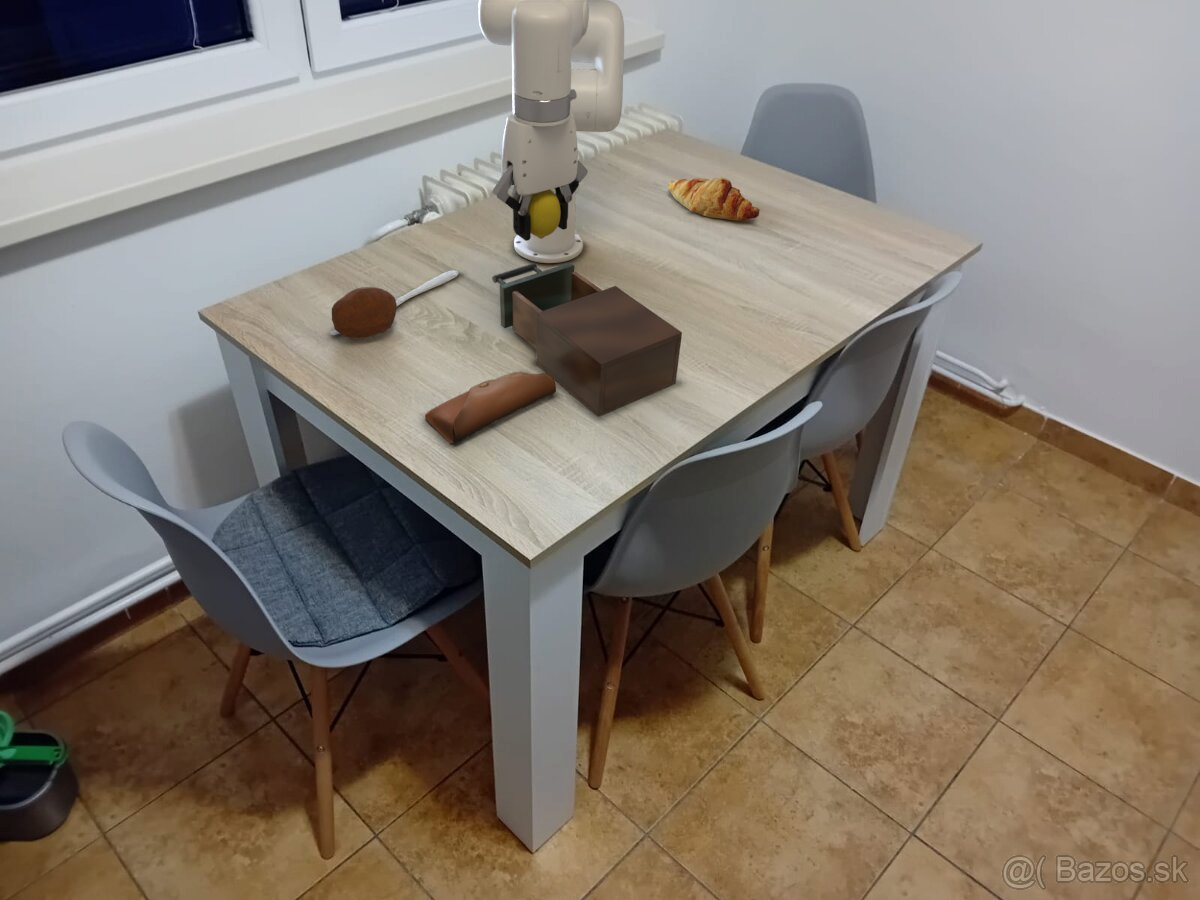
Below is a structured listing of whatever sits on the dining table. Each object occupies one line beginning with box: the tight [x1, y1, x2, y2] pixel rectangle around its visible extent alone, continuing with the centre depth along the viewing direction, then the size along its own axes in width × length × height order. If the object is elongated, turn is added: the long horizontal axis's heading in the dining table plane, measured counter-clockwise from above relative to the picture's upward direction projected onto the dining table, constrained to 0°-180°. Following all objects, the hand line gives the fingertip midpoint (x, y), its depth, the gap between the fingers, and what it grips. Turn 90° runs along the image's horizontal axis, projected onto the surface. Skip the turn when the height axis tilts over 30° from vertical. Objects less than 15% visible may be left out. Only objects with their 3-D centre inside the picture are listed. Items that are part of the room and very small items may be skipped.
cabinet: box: [536, 285, 683, 418], centre depth 134 cm, size 16×15×9 cm
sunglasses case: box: [424, 371, 557, 445], centre depth 128 cm, size 18×7×7 cm
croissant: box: [667, 177, 761, 222], centre depth 180 cm, size 21×10×8 cm
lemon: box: [527, 190, 561, 239], centre depth 129 cm, size 6×6×8 cm
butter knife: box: [329, 269, 460, 336], centre depth 149 cm, size 1×27×3 cm
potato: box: [331, 286, 398, 339], centre depth 140 cm, size 8×11×8 cm
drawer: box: [491, 262, 603, 350], centre depth 143 cm, size 21×13×7 cm, turn 37°
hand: (540, 229), depth 131 cm, fingers closed on lemon, 5 cm apart
